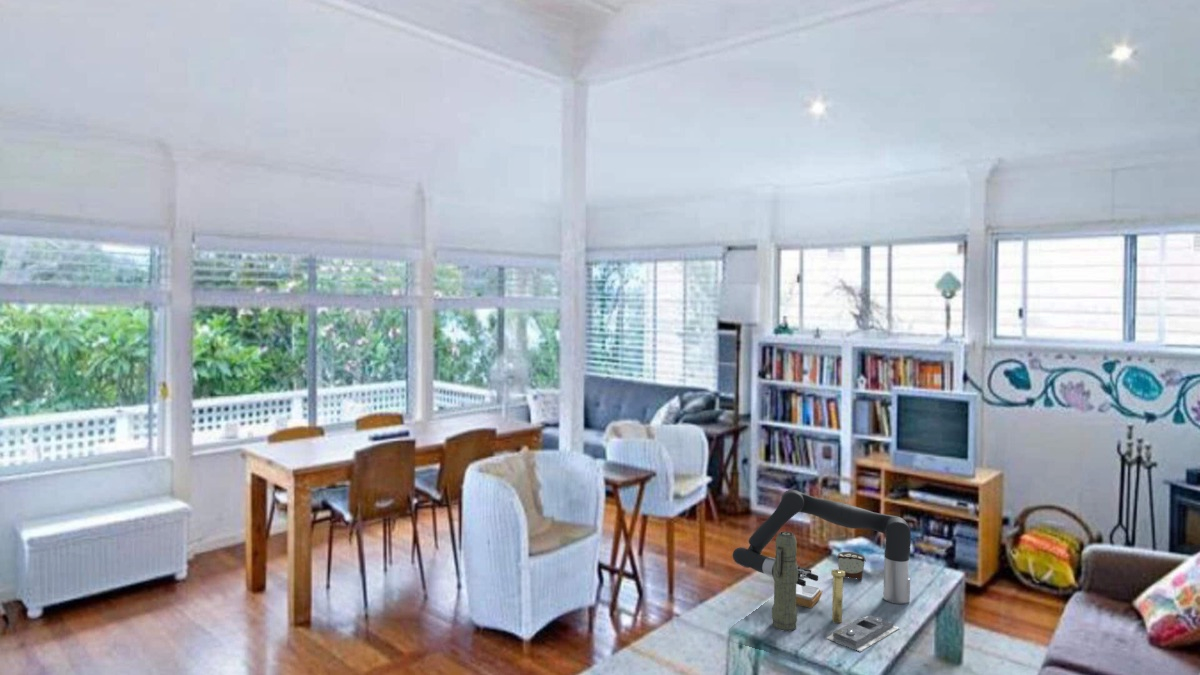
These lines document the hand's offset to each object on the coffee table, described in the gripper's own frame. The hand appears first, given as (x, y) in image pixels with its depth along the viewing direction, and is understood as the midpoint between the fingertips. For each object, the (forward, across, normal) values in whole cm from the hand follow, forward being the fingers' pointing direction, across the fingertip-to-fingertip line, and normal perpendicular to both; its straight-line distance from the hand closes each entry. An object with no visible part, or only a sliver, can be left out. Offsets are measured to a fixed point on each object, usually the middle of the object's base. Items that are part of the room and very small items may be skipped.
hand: (811, 581), depth 285 cm
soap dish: (-6, +7, +12) cm, 16 cm away
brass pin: (+12, 0, +12) cm, 17 cm away
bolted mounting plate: (+24, -2, +12) cm, 26 cm away
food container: (-9, +46, +12) cm, 48 cm away
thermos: (+1, -19, +12) cm, 22 cm away
